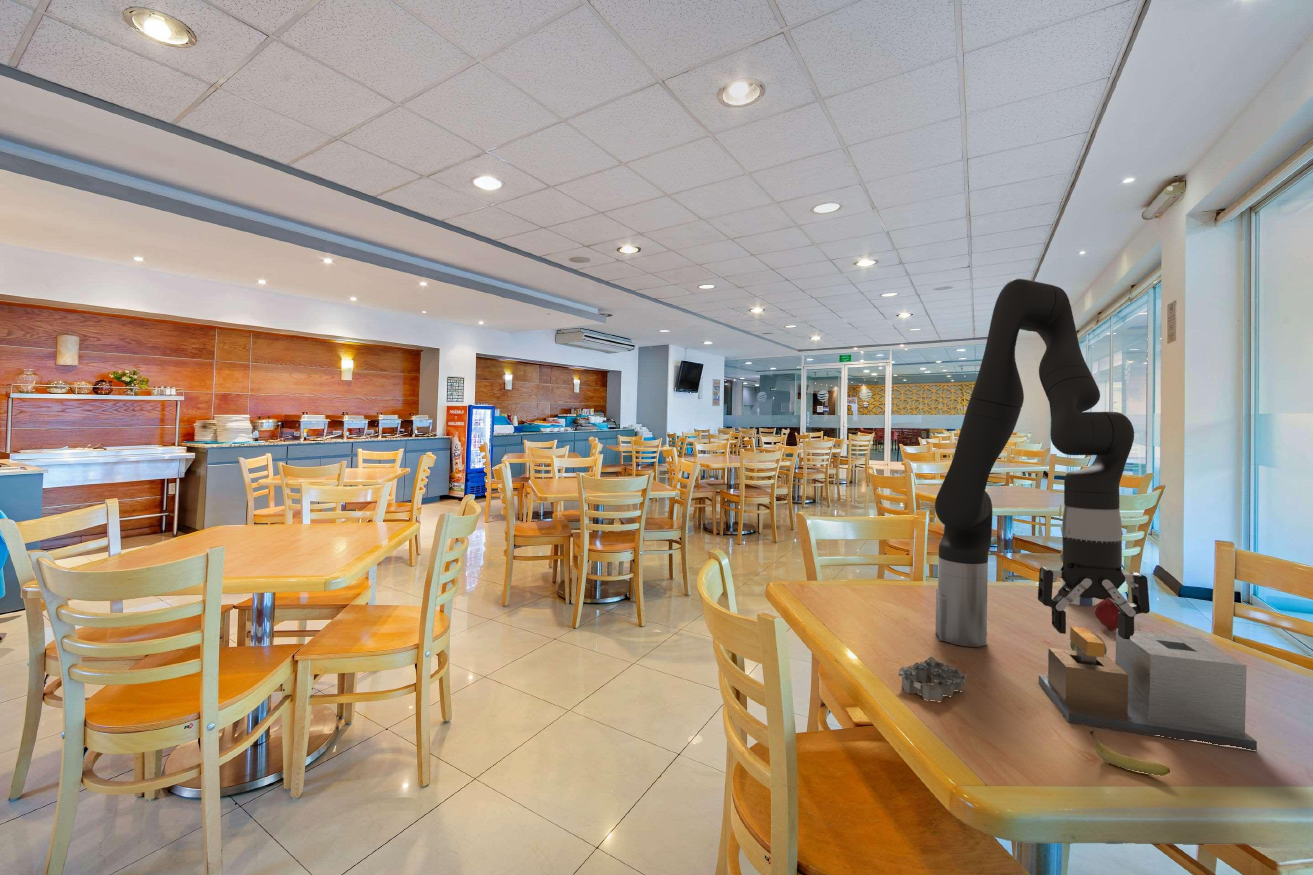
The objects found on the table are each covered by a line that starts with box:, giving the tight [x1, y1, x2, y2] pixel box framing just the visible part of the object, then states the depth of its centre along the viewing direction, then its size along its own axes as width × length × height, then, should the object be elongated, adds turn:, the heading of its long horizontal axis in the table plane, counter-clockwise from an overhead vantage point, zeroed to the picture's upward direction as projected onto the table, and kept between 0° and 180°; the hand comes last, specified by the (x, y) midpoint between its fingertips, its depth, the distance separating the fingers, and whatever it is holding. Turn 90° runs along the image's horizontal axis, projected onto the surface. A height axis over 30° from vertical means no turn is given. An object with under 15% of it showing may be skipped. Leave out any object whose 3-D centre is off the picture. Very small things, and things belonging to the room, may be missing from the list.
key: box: [1069, 626, 1106, 665], centre depth 88 cm, size 7×2×8 cm, turn 161°
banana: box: [1088, 729, 1171, 777], centre depth 72 cm, size 8×2×4 cm, turn 50°
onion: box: [1094, 598, 1120, 631], centre depth 123 cm, size 6×6×8 cm
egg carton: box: [898, 656, 969, 702], centre depth 94 cm, size 11×8×4 cm
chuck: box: [1038, 628, 1258, 752], centre depth 86 cm, size 22×14×12 cm, turn 71°
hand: (1091, 634), depth 88 cm, fingers open, 8 cm apart
